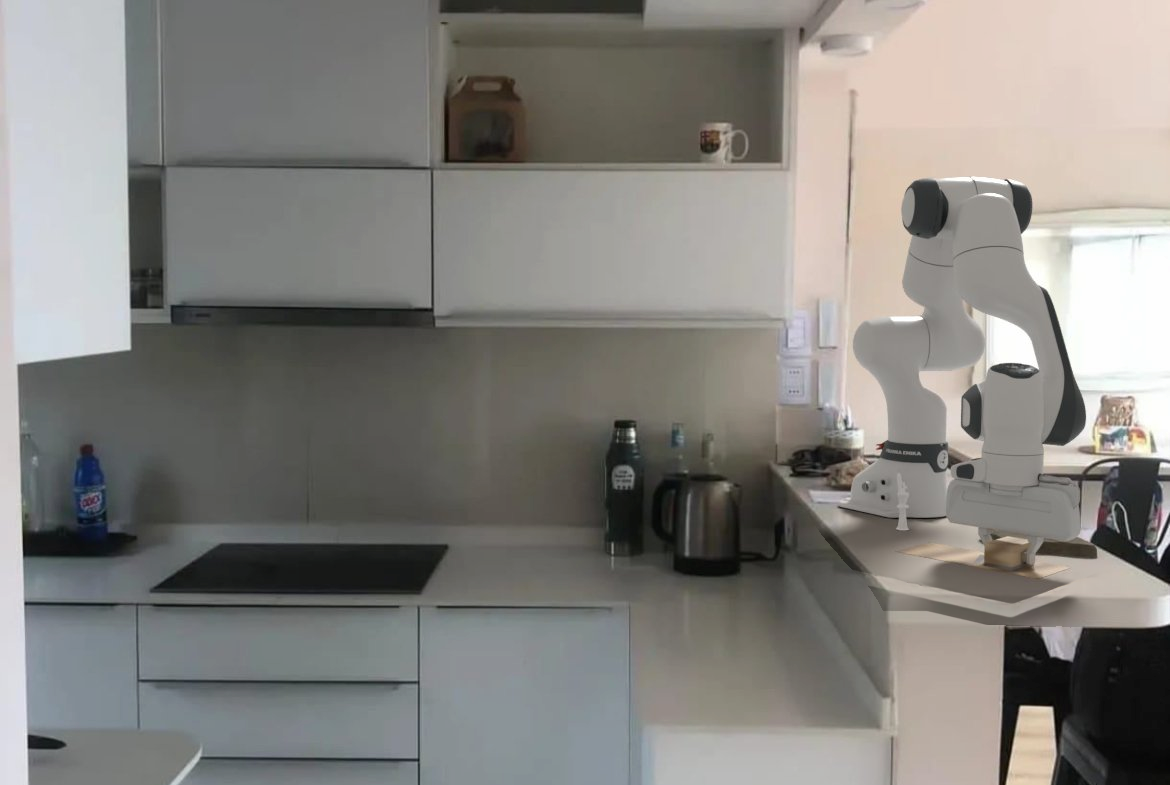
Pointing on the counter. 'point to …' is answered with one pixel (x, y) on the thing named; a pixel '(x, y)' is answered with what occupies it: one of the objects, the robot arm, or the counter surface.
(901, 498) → the chess piece
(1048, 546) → the marble piece
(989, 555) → the block
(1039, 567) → the board
